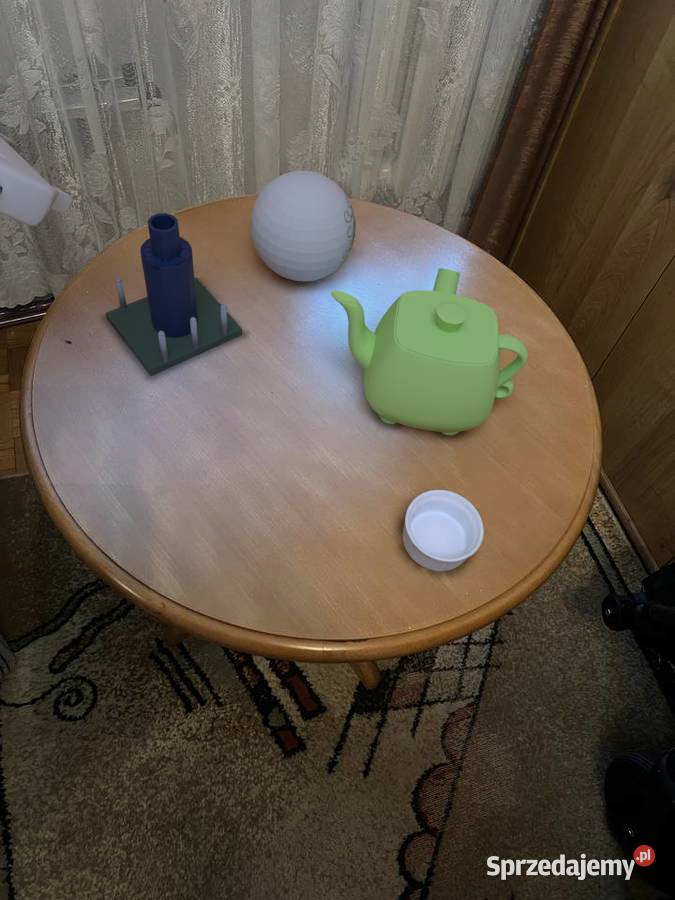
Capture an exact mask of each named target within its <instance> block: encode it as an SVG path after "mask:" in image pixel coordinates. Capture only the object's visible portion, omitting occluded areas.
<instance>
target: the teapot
mask: <svg viewBox="0 0 675 900" xmlns="http://www.w3.org/2000/svg"><path fill="white" fill-rule="evenodd" d="M460 276H461V272H460V271H456V270H452V269H447V268H441V267H439V268H438V270H437V272H436V276H435V277H436V278H435V280H434V285H433V288H432V290H423V289H419V290H418V289H415V290H407V291H405V292H403V293H401V295H399V296H398V297H397V298H396V299H395V301H394V302H393V303H391V305H390V306H389V307H388V309H387V310H386V312H385V313H384V314H383V315H382V317H381V319H380V320H379V322H378V324H377V326H376V328H375V331H372V330H370V328H368V327H367V325H366V322H365V311H364V308H363V306H362V304H361V302H360V301H359V300H358V299H357V298H356V297H355V296H353V295H352V294H349V293H347V292H345V291H342V290H335V289H334V290H331V291H330V296H331V297H332V298H333V299H334V300H335V301H336V302H338V304H340V306H342V308H343V309H344V311H345V312H346V316H347V324H348V325H347V326H348V327H347V340H348V341H347V343H348V348H349V351H350V353H351V355H352V357H353V359H354V360H355V361H356V363H357V364H359V365H360V366H361V367H362V368H363V369H364V374H363V387H364V390H363V392H364V395H365V398H366V401H367V403H368V405H369V406H370V408H371V409H372V411H374V412H375V413H376V414H378V417H379V418H380V420H381V421H383V423H385V424H389V425H396V424H400V425H403V426H406V427H409V428H413V429H417V430H421V431H429V432H440V433H442V434H443V435H447V436H455V435H457V434H458V433H459V432H465V431H469V430H472V429H475V428H476V427H479V426H480V425H482V424H483V423H484V422H485V421H487V419H488V417H489V416H490V413H491V412H492V409H493V406H494V404H495V400H496V399H507V398H508V397H510V396H511V395H512V393H513V392H514V390H515V389H514V388H515V384H514V381H513V380H512V378H514V377H515V376H517V374H519V373H520V372H521V371H522V370H523V369H524V367H525V366H526V364H527V362H528V359H529V353H528V352H529V351H528V347H527V345H526V344H525V343H524V342H523V341H522V340H521V339H519V338H518V337H516V336H514V335H511V334H506V333H505V334H503V333H500V331H499V320H498V317H497V313H496V311H495V310H494V309H493V308H492V307H490V306H488V305H487V304H485V303H483V302H480V301H479V300H475V299H473V298H470V297H465V296H462V295H458V294H457V290H458V287H459V286H458V285H459V281H460ZM501 350H507V351H511V352H513V353H515V354H516V355H517V356H516V357H515V359H513V360H512V362H510V363H509V364H508V365H506V366H504V367H503V368H502V369H500V367H501Z"/></svg>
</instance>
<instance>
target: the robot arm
mask: <svg viewBox="0 0 675 900" xmlns="http://www.w3.org/2000/svg"><path fill="white" fill-rule="evenodd" d="M20 151H21V150H20V147H19V146H18V144H16V143H15V142H14V140H12V139H11V138H10V137H8V136H6V135H5V134H3V133H0V214H1V215H3V216H4V217H7V218H9V219H12V220H14V221H16V222H19V223H21V224H23V225H25V226H28V227H29V226H30V227H38V226H40V225H42V224H43V222H44V221H45V219H46V218H47V216H48V215H49V213H50V211H51V210H52V211H54V212H57V213H59V214H65V213H67V212H68V210H69V208H70V206H71V205H72V203H73V197H72V196H71V195H69V193H68V192H66V190H64V189H63V188H62V187H59V186H57V185H56V184H53V183H51V182H50V183H49V182H48V181H47V180H46V179H45V178H44V177H43V176H42V175H41V174H40V173H39V172H38V171H37V170H36V169H35V168H34V167H33V166H31V164H30V163H28V161H27V160H26V159H24V158H23V157H22V155H20V154H19V153H20Z"/></svg>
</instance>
